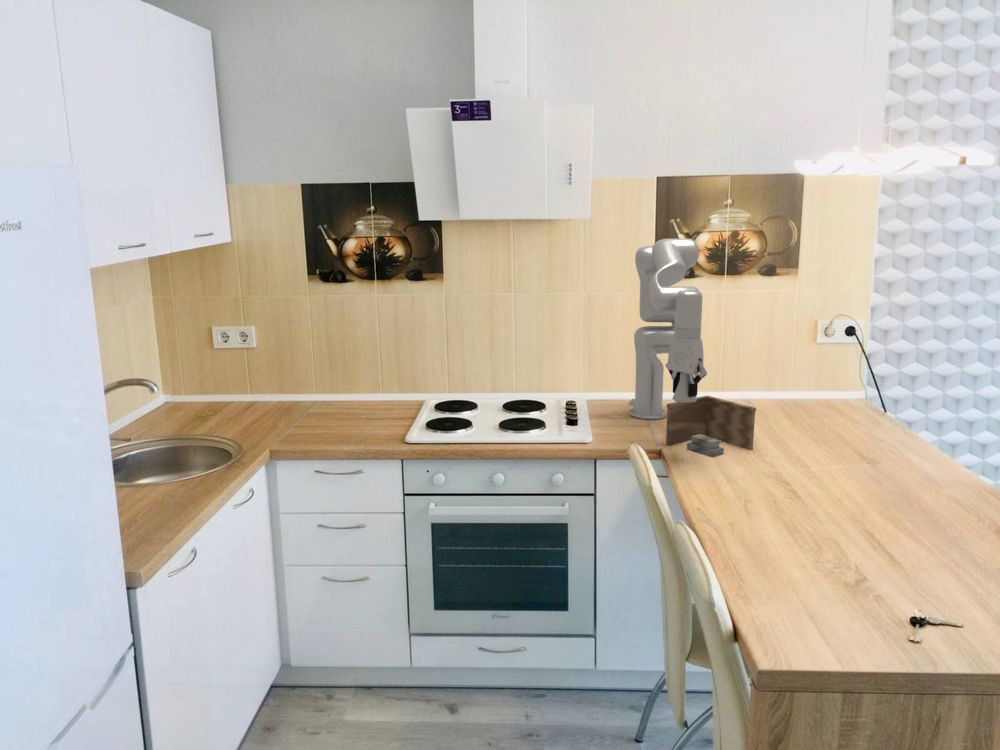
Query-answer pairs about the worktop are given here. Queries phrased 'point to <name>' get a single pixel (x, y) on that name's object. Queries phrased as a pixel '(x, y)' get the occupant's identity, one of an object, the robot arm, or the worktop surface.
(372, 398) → the worktop surface
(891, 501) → the worktop surface
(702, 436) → the offcut top
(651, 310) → the robot arm
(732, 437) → the brown wooden corner wall
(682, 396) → the flask
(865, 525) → the worktop surface
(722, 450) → the tray
